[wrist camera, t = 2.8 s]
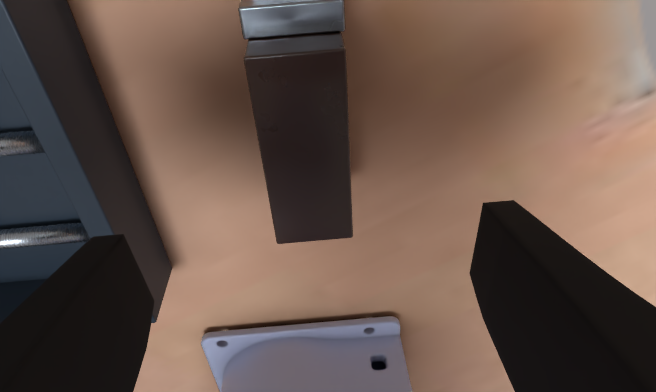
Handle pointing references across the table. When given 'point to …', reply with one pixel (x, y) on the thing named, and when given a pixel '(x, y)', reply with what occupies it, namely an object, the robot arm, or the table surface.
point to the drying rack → (61, 158)
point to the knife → (301, 114)
